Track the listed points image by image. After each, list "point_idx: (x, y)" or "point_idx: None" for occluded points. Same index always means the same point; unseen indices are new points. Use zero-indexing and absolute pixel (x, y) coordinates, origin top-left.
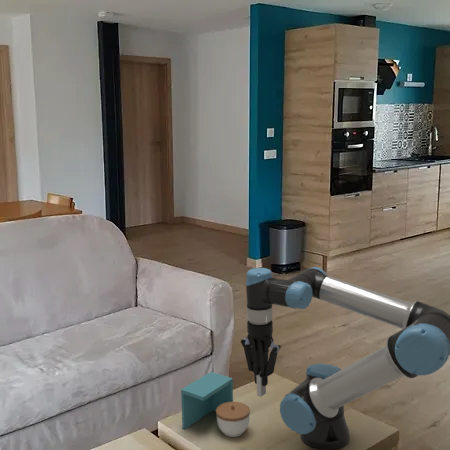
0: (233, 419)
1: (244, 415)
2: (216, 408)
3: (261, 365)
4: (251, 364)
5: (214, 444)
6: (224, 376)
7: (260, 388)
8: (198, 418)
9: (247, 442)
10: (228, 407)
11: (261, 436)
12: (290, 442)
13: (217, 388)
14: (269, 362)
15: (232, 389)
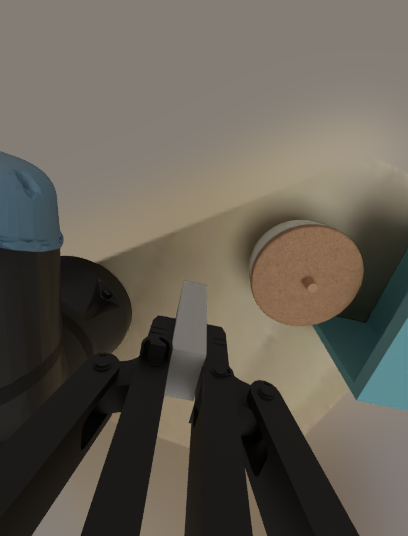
0: (288, 230)
1: (259, 261)
2: (358, 325)
3: (145, 431)
4: (263, 436)
5: (319, 179)
6: (391, 404)
7: (182, 301)
8: (396, 275)
9: (235, 222)
10: (324, 286)
11: (211, 259)
12: (136, 260)
13: (402, 323)
14: (10, 478)
15: (338, 367)
